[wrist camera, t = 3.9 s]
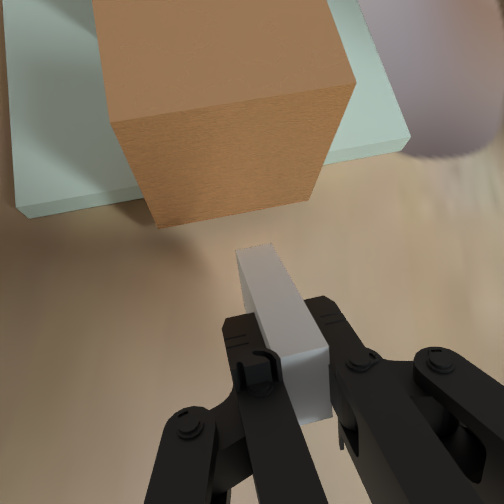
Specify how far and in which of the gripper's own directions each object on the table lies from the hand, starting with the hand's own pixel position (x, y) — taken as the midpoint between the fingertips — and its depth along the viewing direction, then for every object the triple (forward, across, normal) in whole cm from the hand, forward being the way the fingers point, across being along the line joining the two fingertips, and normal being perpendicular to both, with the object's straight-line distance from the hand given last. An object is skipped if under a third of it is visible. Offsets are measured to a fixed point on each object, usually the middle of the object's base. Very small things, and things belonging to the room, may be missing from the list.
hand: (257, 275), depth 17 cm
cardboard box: (+10, 0, +5) cm, 11 cm away
